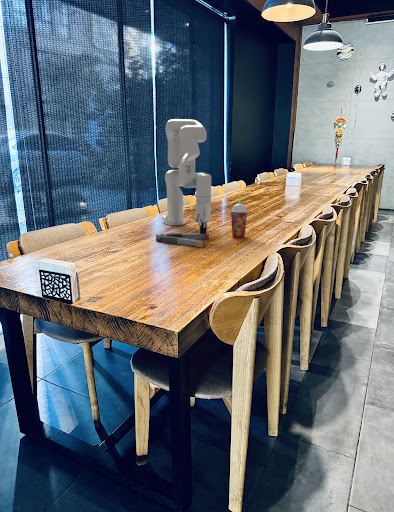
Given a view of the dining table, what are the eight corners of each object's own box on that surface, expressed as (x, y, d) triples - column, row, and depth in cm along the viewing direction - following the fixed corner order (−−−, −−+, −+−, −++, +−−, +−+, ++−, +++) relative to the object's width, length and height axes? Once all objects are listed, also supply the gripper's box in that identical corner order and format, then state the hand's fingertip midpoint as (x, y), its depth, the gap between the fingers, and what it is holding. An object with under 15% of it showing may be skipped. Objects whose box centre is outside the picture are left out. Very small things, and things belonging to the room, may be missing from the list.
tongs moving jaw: (156, 241, 184) (155, 235, 183) (156, 238, 189) (155, 233, 188) (209, 240, 187) (209, 234, 186) (208, 237, 192) (208, 232, 191)
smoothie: (248, 235, 196) (250, 197, 191) (243, 239, 189) (245, 199, 184) (233, 234, 200) (234, 196, 194) (228, 237, 193) (229, 198, 187)
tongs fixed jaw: (161, 242, 182) (161, 236, 181) (165, 241, 185) (165, 235, 184) (202, 247, 173) (202, 241, 172) (204, 246, 176) (204, 240, 175)
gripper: (202, 197, 196) (202, 231, 201) (190, 200, 183) (190, 237, 188) (216, 197, 193) (215, 232, 198) (204, 201, 180) (203, 238, 185)
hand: (203, 234), depth 193 cm, fingers closed
